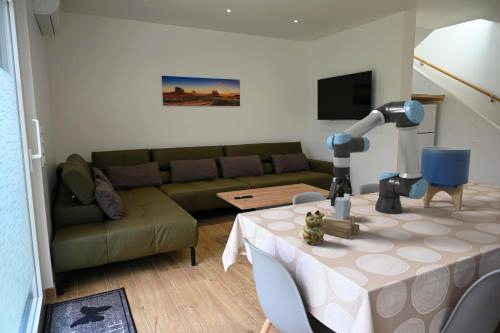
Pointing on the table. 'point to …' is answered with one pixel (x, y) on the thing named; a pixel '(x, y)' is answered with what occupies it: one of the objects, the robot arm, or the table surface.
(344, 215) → the block
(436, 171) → the planter
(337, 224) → the slab upper
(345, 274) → the table surface
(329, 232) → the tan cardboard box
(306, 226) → the decorative figurine
